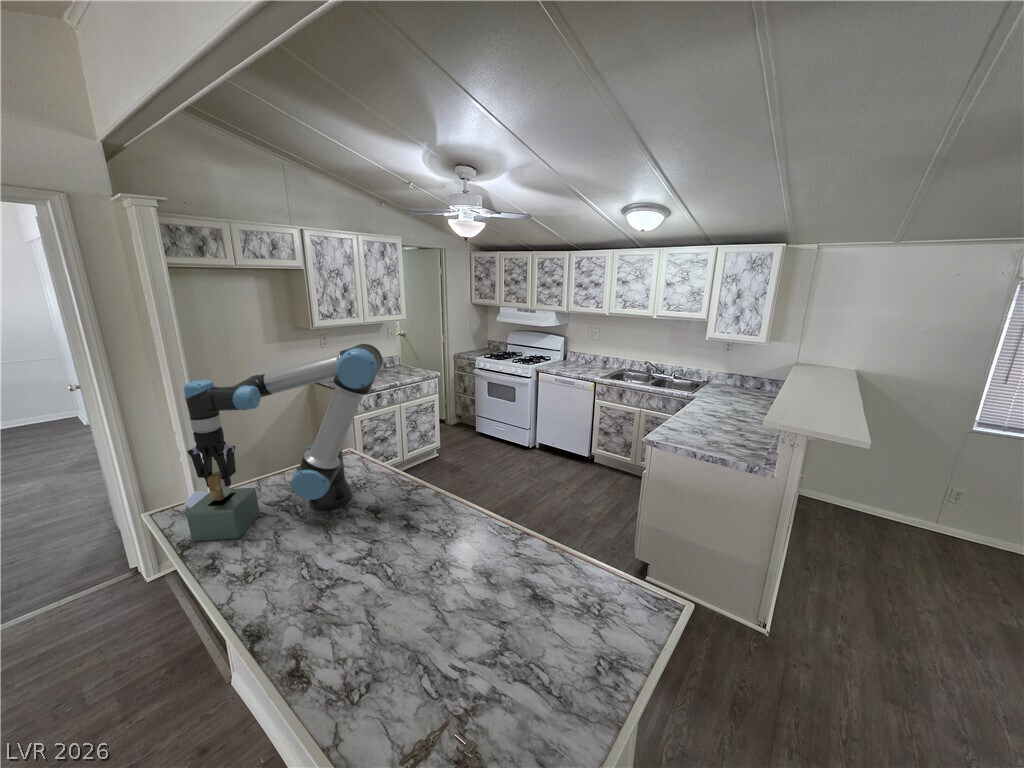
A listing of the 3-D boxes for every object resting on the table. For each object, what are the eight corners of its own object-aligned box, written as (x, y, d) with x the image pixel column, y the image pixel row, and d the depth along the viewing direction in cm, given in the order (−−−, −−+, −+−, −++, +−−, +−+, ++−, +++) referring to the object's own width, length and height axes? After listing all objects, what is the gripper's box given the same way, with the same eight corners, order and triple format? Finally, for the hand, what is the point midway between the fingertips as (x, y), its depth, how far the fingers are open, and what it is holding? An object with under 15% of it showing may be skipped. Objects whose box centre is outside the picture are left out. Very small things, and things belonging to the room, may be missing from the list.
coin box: (260, 515, 144) (255, 487, 141) (238, 539, 130) (232, 509, 127) (218, 517, 142) (212, 489, 139) (192, 542, 129) (185, 512, 126)
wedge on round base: (185, 512, 145) (206, 522, 140) (181, 496, 144) (202, 504, 138) (212, 500, 153) (233, 509, 148) (208, 485, 151) (229, 492, 146)
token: (230, 492, 136) (226, 470, 134) (221, 500, 131) (217, 477, 129) (220, 492, 135) (216, 471, 133) (211, 500, 130) (207, 478, 128)
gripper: (240, 423, 132) (252, 488, 138) (188, 425, 130) (202, 490, 136) (227, 432, 124) (240, 499, 130) (171, 434, 123) (187, 502, 129)
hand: (221, 494), depth 133 cm, fingers closed on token, 3 cm apart
